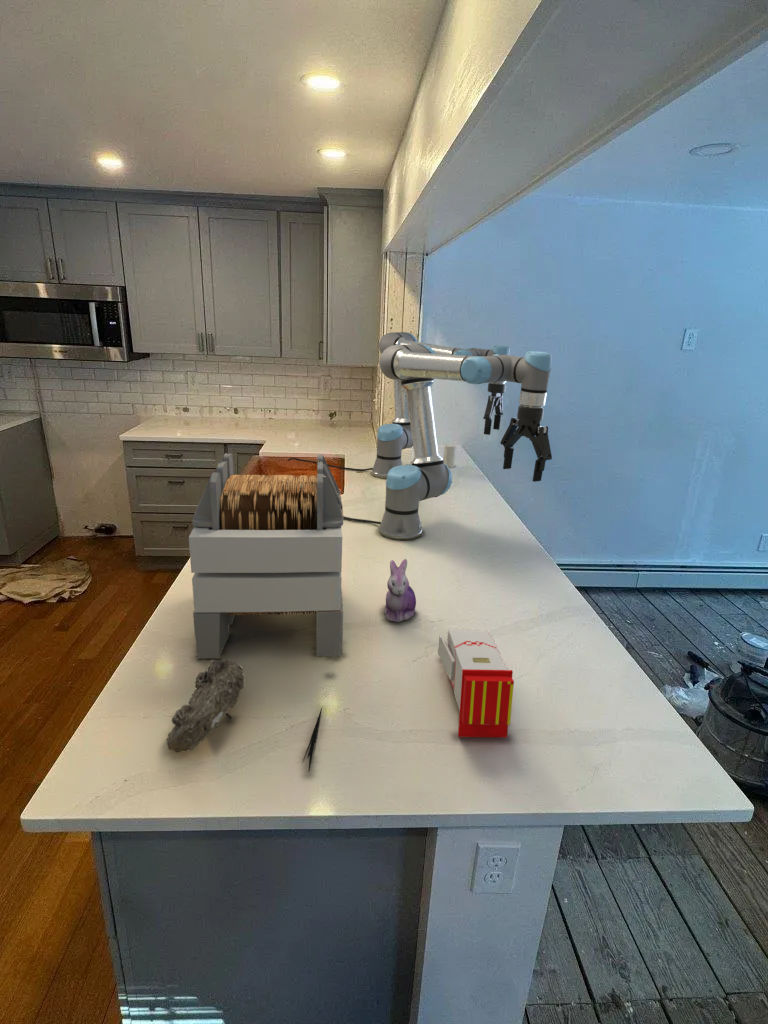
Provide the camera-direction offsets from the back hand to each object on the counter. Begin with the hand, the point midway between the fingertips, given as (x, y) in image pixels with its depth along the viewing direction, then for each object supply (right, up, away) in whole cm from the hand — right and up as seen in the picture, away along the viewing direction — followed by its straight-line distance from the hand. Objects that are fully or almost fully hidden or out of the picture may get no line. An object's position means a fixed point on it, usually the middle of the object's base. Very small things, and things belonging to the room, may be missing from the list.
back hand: (491, 431), depth 250 cm
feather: (-60, -75, -142) cm, 171 cm away
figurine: (-44, -62, -103) cm, 128 cm away
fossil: (-80, -75, -142) cm, 179 cm away
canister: (-14, -12, +40) cm, 44 cm away
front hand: (-5, -24, -75) cm, 79 cm away
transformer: (-75, -63, -108) cm, 146 cm away
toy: (-30, -73, -132) cm, 154 cm away
